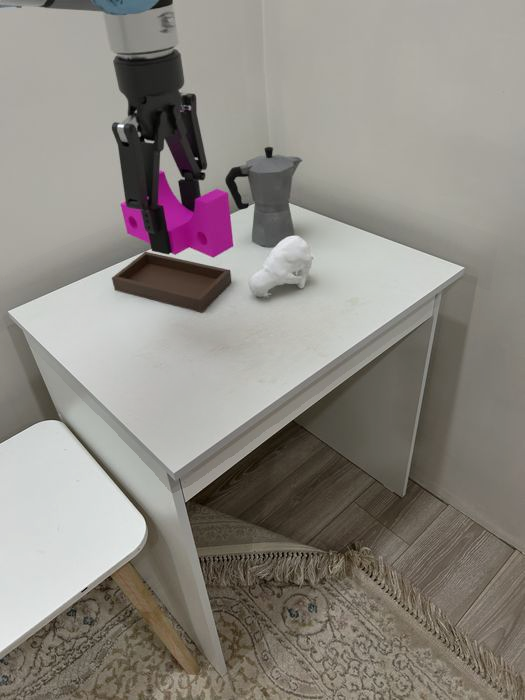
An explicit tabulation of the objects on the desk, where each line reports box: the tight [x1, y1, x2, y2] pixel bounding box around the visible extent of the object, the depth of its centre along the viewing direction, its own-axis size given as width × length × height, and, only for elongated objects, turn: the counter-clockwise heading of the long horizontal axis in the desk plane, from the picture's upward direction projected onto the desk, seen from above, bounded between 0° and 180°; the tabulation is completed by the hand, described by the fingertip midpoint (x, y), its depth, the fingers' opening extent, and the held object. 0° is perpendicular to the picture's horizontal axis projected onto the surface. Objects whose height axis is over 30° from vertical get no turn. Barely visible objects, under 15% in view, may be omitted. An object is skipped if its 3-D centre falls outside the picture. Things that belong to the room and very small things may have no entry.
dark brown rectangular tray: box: [111, 251, 232, 313], centre depth 97 cm, size 19×10×3 cm, turn 63°
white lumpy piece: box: [248, 235, 314, 298], centre depth 93 cm, size 6×8×12 cm
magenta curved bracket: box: [120, 169, 234, 258], centre depth 73 cm, size 15×6×8 cm, turn 48°
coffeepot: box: [224, 146, 303, 248], centre depth 104 cm, size 15×9×18 cm, turn 113°
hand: (178, 237), depth 75 cm, fingers closed on magenta curved bracket, 7 cm apart
